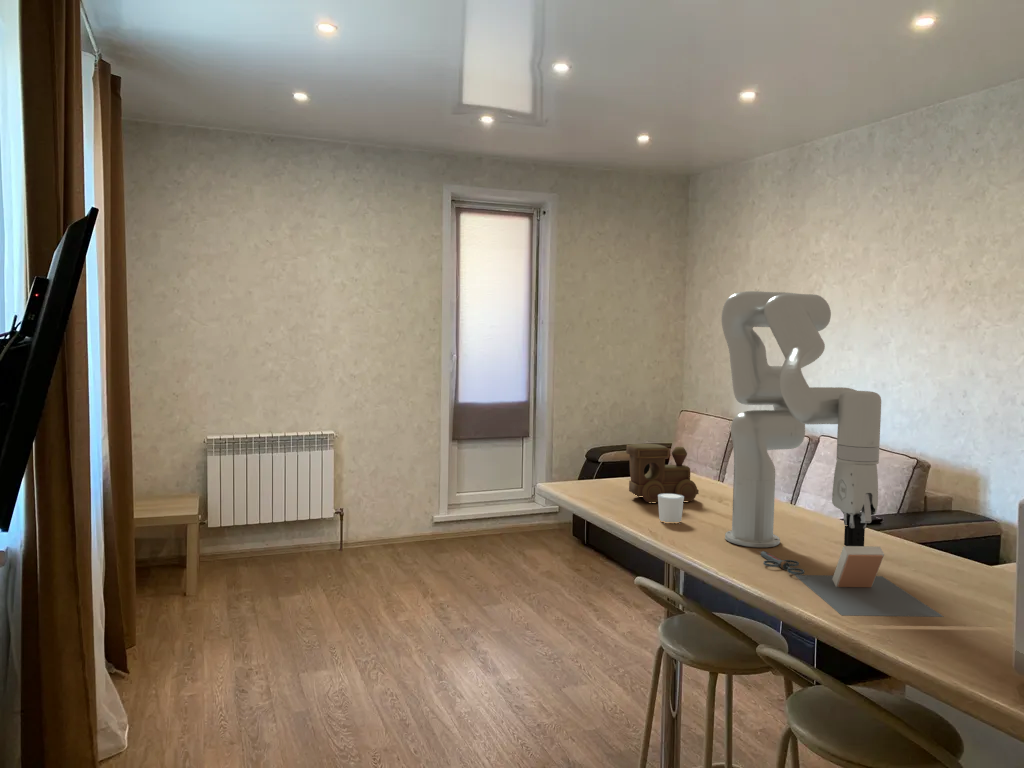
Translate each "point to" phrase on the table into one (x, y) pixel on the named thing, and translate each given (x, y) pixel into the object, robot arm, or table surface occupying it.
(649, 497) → the wooden toy train
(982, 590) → the table surface
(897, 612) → the mat
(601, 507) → the table surface
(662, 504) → the white short tapered cylinder
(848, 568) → the tile
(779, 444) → the robot arm
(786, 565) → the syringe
